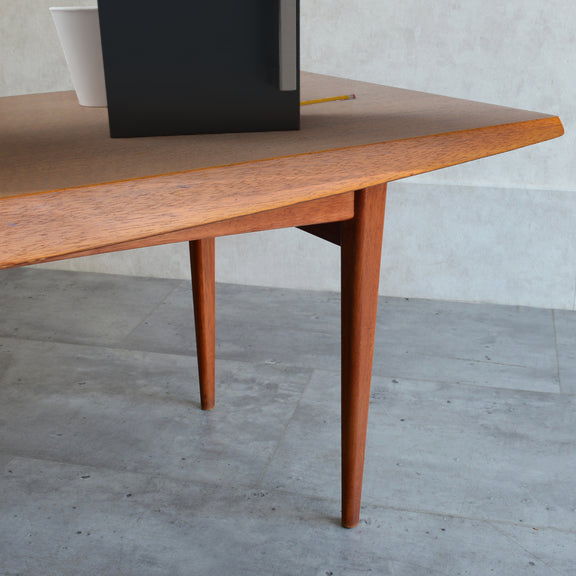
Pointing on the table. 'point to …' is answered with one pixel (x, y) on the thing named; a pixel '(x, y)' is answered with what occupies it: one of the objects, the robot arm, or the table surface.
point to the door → (200, 66)
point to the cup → (82, 51)
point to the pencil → (327, 99)
